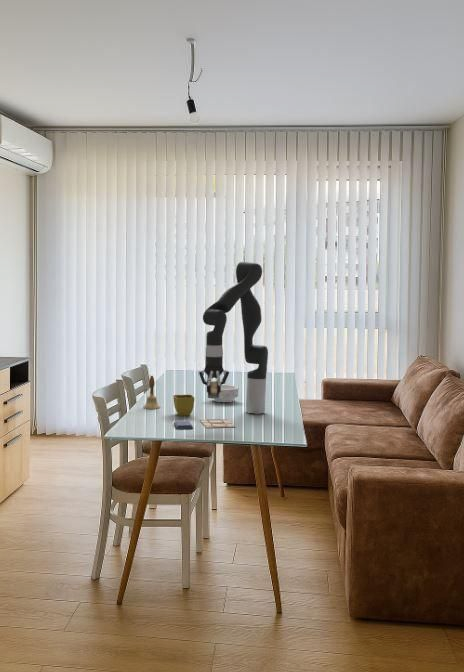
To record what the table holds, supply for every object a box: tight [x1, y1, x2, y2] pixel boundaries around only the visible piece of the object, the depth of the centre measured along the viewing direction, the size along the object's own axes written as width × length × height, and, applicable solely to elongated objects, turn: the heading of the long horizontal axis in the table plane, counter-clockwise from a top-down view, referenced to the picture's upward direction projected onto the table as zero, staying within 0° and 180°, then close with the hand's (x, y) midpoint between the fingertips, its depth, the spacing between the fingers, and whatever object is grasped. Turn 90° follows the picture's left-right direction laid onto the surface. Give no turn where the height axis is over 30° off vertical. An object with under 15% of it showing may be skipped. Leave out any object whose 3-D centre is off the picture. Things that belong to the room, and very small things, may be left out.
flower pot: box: [173, 394, 196, 417], centre depth 307 cm, size 9×9×9 cm
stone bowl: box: [213, 384, 240, 403], centre depth 345 cm, size 15×15×8 cm
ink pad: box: [173, 420, 194, 430], centre depth 282 cm, size 9×7×2 cm
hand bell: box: [143, 375, 161, 410], centre depth 322 cm, size 8×8×16 cm
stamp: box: [207, 380, 219, 400], centre depth 285 cm, size 5×5×7 cm
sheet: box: [199, 418, 236, 429], centre depth 290 cm, size 16×13×1 cm
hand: (213, 393), depth 285 cm, fingers closed on stamp, 3 cm apart
